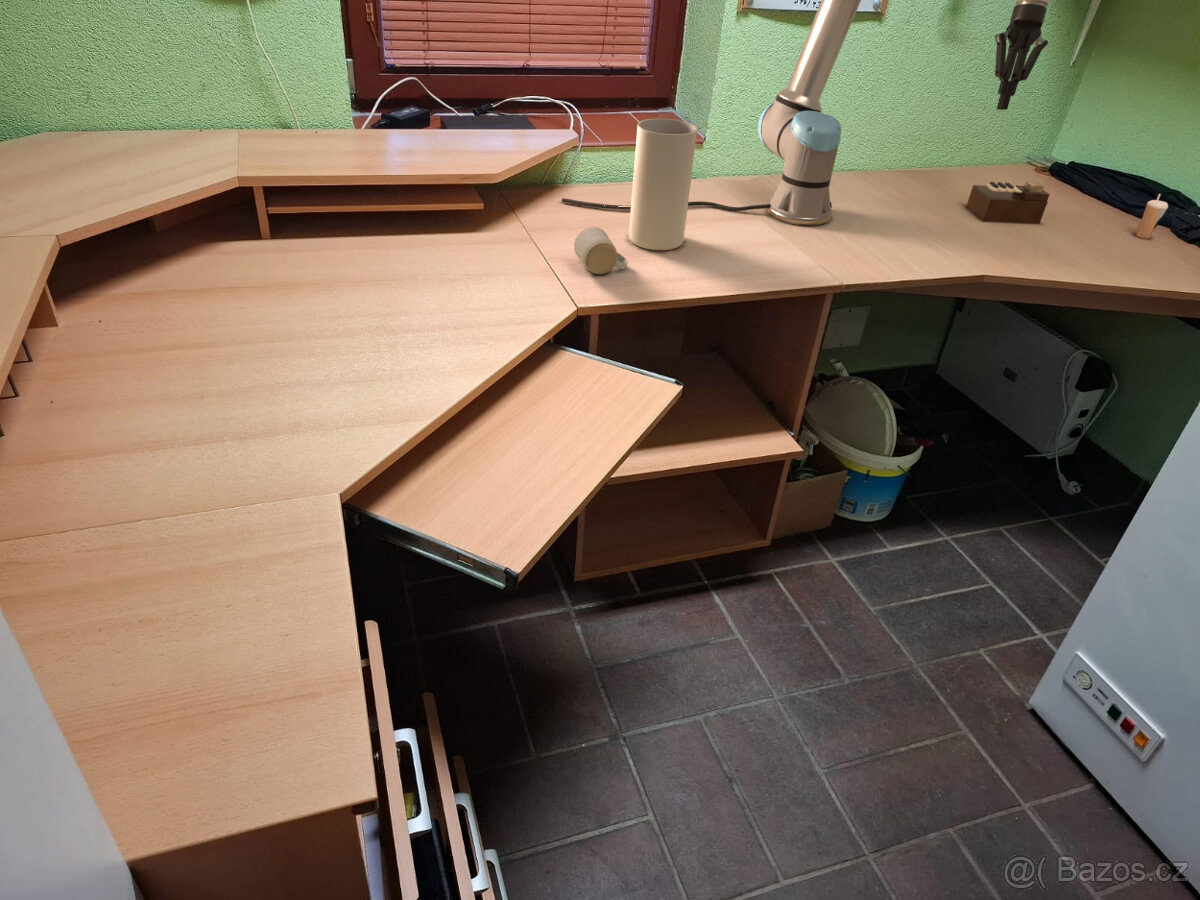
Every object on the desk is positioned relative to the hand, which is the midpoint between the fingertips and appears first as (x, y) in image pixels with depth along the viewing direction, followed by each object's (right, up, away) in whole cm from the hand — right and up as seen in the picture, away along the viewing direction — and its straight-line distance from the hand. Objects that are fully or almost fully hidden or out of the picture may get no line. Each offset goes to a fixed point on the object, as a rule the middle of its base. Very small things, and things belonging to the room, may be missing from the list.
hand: (1001, 109), depth 207 cm
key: (+8, -21, 0) cm, 22 cm away
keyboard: (0, -20, 0) cm, 20 cm away
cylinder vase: (-90, -39, -22) cm, 101 cm away
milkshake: (+35, -33, -1) cm, 48 cm away
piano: (+3, -25, +6) cm, 26 cm away
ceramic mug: (-102, -49, -36) cm, 119 cm away
